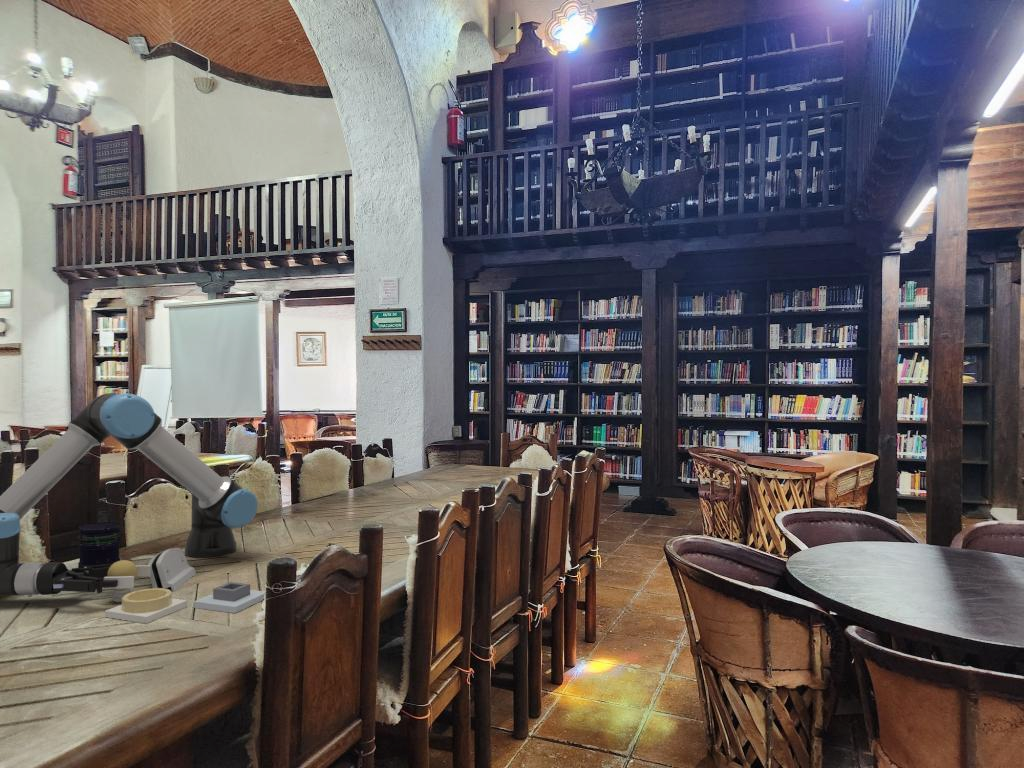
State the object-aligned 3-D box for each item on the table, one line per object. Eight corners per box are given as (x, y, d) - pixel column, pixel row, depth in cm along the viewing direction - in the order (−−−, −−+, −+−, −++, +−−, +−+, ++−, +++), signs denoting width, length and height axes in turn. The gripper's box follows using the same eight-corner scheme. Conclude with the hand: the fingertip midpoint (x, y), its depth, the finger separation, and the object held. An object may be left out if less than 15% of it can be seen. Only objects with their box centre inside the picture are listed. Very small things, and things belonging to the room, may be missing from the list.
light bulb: (105, 606, 156) (106, 565, 156) (107, 598, 162) (108, 558, 162) (135, 603, 159) (136, 562, 159) (137, 595, 165) (138, 556, 165)
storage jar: (69, 582, 174) (70, 527, 174) (105, 573, 183) (106, 520, 183) (92, 588, 170) (93, 531, 170) (128, 578, 179) (129, 524, 179)
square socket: (228, 592, 168) (228, 577, 168) (267, 597, 165) (268, 582, 165) (193, 607, 157) (194, 591, 157) (235, 613, 153) (235, 596, 153)
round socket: (147, 601, 161) (148, 585, 161) (187, 606, 157) (187, 590, 157) (104, 617, 149) (105, 600, 149) (146, 623, 146) (146, 605, 146)
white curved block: (173, 591, 168) (160, 555, 168) (155, 598, 168) (142, 562, 167) (196, 573, 185) (184, 540, 184) (180, 579, 184) (168, 546, 184)
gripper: (66, 580, 168) (158, 578, 172) (15, 609, 147) (121, 606, 150) (67, 551, 169) (159, 550, 172) (16, 576, 147) (122, 573, 150)
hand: (141, 576), depth 161 cm, fingers open, 9 cm apart
